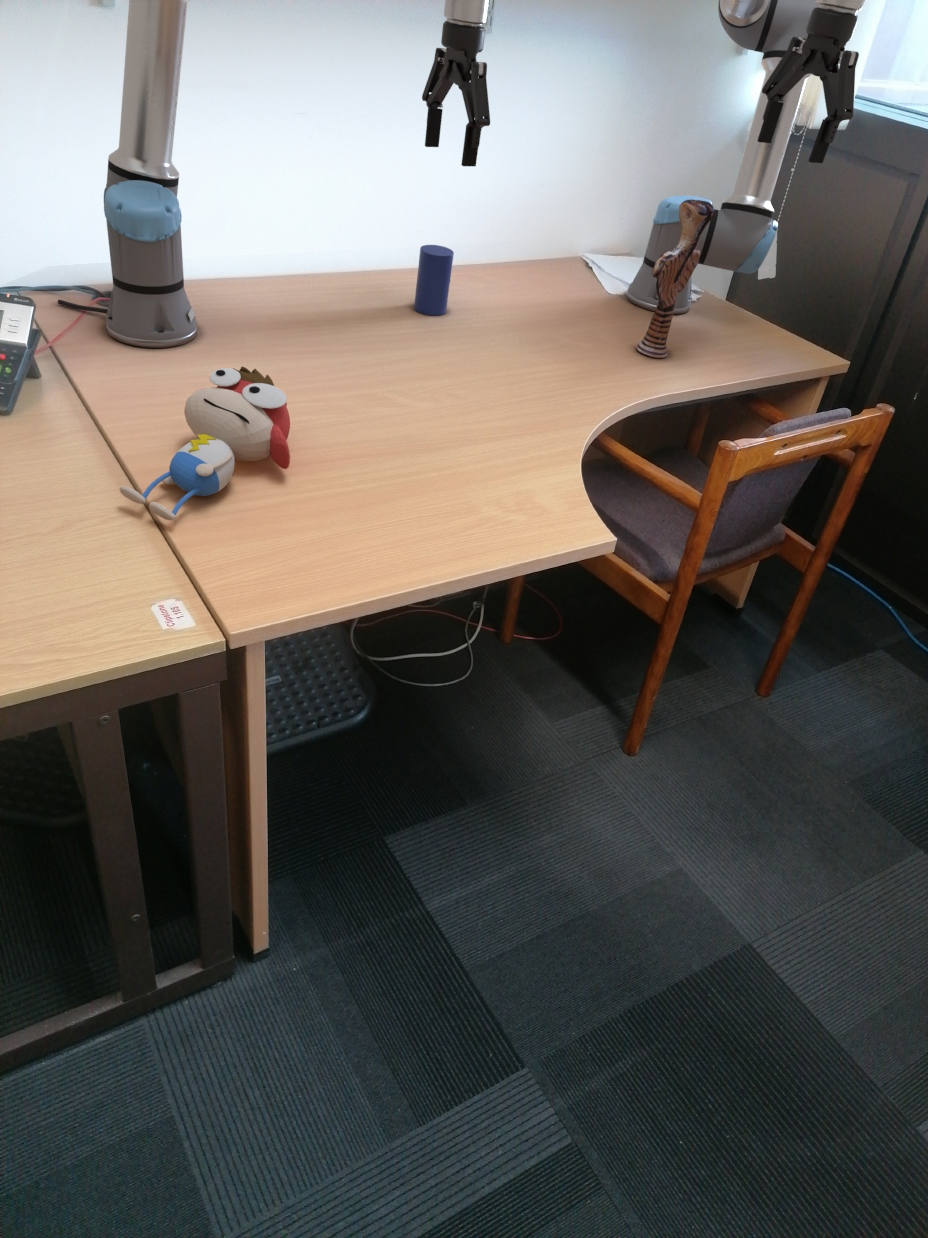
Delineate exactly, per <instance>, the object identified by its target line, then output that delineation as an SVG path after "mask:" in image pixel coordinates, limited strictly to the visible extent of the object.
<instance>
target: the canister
mask: <svg viewBox="0 0 928 1238" xmlns="http://www.w3.org/2000/svg"><path fill="white" fill-rule="evenodd" d="M419 248H420V249H419V258H418V266H417V276H416V286H415V293H414V294H415V295H414V303H413V304H414V305H413V309H414V310H415V312H418V313H420V314H423V315H426V316H434V317H435V316H443V315H445V314H446V313H447V308H448V299H449V292H450V284H451V277H452V269H453V262H454V256H455V255H454V251H453V250H452V249H451V248H449V247H447V246H443V245H438V244H424V245H421V246H420V247H419Z"/></svg>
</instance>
